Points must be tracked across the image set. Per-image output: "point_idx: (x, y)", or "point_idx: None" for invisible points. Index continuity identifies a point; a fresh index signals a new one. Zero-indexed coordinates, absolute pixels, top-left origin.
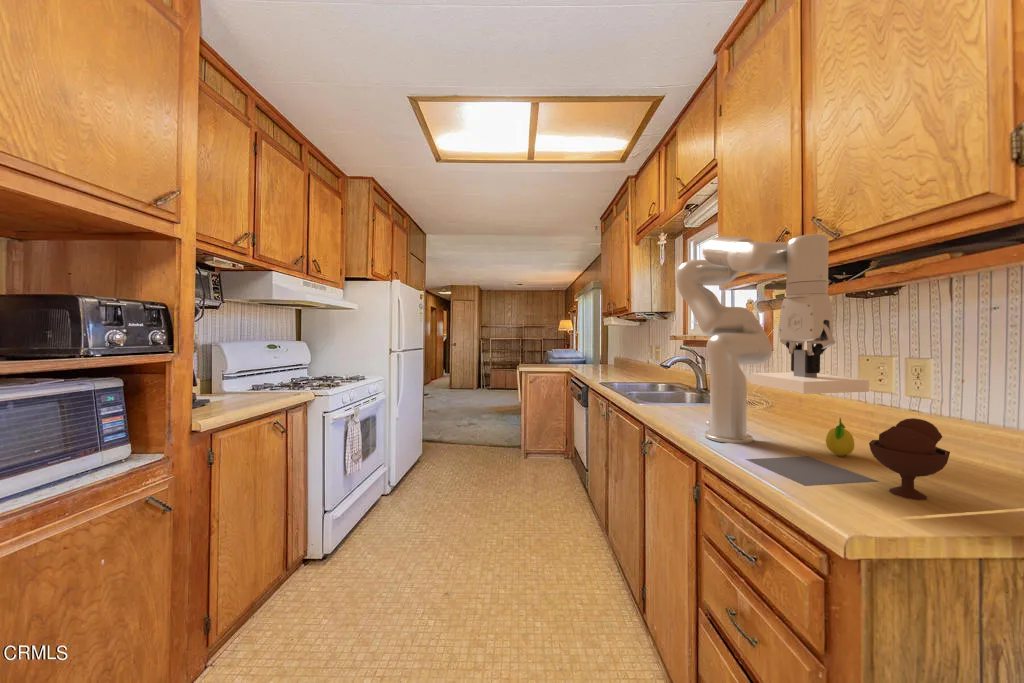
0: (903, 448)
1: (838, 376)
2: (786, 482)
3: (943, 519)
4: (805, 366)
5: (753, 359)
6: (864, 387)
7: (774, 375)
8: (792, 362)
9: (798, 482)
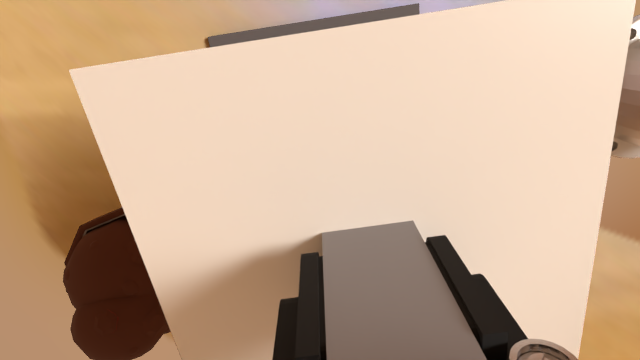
0: (83, 236)
1: None
2: (243, 12)
3: (79, 188)
4: (313, 277)
5: None
6: None
7: (449, 98)
8: (455, 275)
9: (229, 35)
